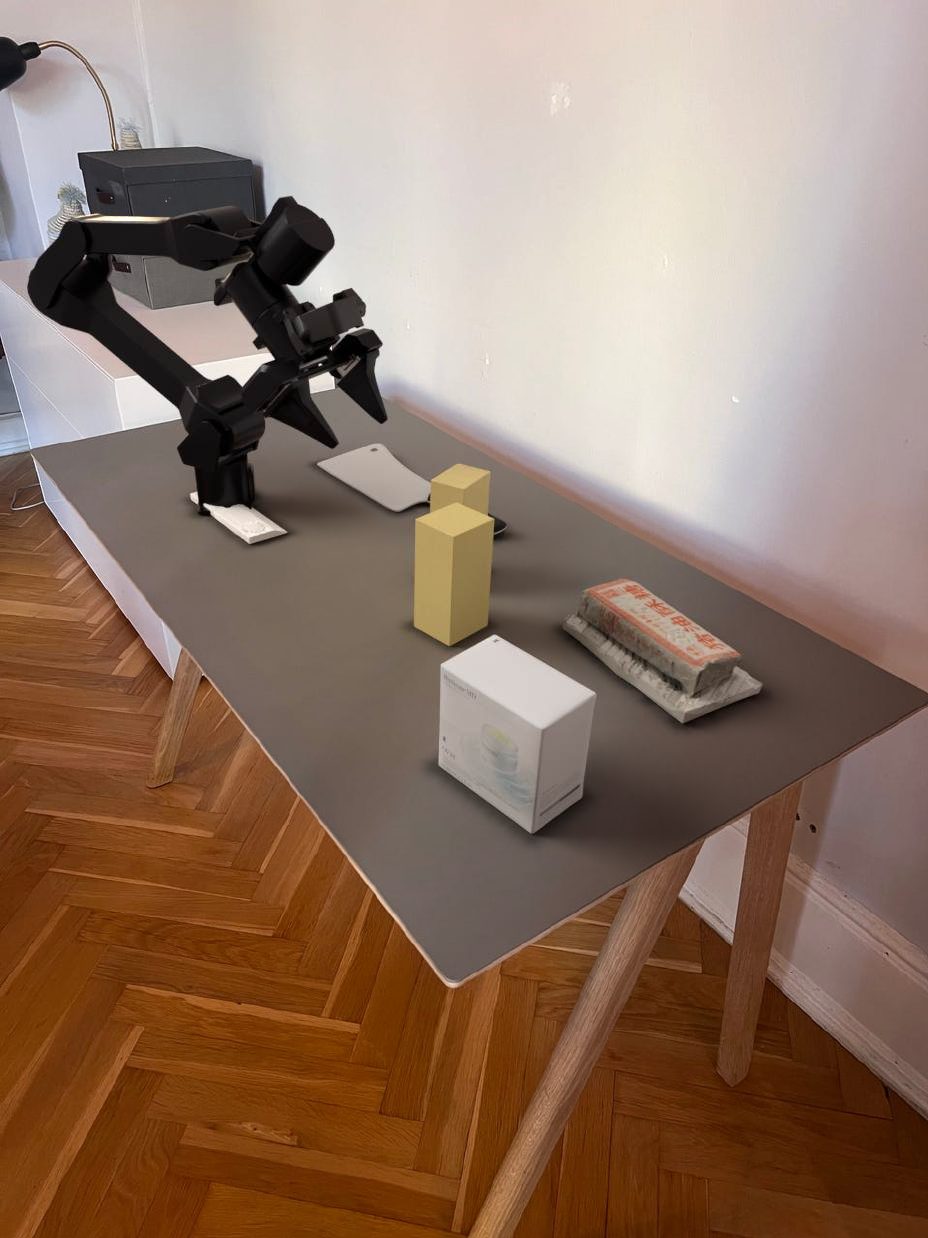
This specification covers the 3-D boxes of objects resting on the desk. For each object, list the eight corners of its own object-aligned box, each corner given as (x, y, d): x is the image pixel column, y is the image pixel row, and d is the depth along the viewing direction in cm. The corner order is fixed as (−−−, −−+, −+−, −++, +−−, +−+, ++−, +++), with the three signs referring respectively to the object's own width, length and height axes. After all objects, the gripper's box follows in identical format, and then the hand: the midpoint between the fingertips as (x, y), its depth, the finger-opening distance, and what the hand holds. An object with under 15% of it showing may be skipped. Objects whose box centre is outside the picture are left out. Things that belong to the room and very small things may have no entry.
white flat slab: (227, 490, 117) (226, 482, 117) (287, 534, 108) (286, 525, 107) (190, 499, 114) (189, 491, 114) (248, 545, 105) (247, 536, 104)
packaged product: (563, 588, 90) (639, 566, 94) (558, 630, 92) (633, 606, 97) (691, 683, 77) (773, 651, 82) (682, 728, 79) (761, 695, 84)
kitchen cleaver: (315, 458, 125) (376, 436, 130) (317, 469, 126) (377, 447, 131) (452, 546, 105) (518, 517, 109) (452, 559, 106) (518, 529, 110)
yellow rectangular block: (428, 581, 99) (430, 479, 93) (453, 561, 104) (457, 462, 97) (459, 592, 98) (464, 489, 92) (484, 571, 102) (490, 471, 96)
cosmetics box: (434, 768, 74) (437, 661, 68) (489, 734, 78) (496, 631, 72) (530, 838, 68) (542, 727, 62) (585, 798, 71) (601, 690, 66)
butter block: (413, 626, 92) (415, 518, 85) (452, 607, 95) (456, 501, 89) (449, 646, 89) (453, 536, 82) (487, 625, 92) (494, 518, 86)
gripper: (253, 280, 85) (352, 417, 87) (367, 252, 99) (451, 370, 101) (199, 349, 93) (292, 475, 94) (313, 314, 107) (392, 424, 108)
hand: (361, 433), depth 99 cm, fingers open, 9 cm apart
